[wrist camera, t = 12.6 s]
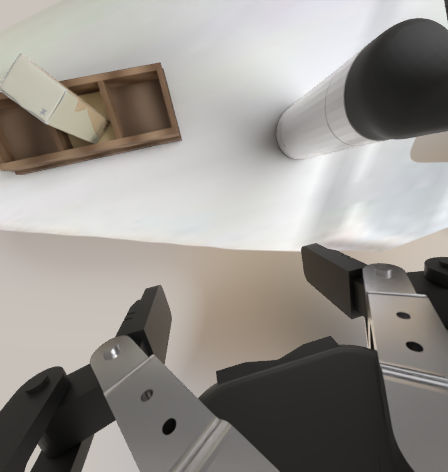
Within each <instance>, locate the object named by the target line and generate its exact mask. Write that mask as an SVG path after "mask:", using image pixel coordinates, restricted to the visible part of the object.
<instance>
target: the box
mask: <svg viewBox="0 0 448 472" xmlns="http://www.w3.org/2000/svg"><path fill="white" fill-rule="evenodd" d="M0 91H1V92H3V93H4V94H5V95H6V96H8V97H9V98H10V99H12V100H13V101H14V102H16V103H17V104H19V105H20V106H21V107H23V108H24V109H25V110H27V111H28V112H30V113H31V114H32V115H34V116H35V117H37V118H38V119H39V120H41V121H42V122H44V123H45V124H47V125H50V126H52V127H54V128H57V129H59V130H61V131H64V132H66V133H69V134H71V135H74V136H76V137H78V138H81V139H83V140H86V141H88V142H91V143H93V144H97V142H98V141H99V140H100V138H101V137H102V135H103V134H104V132H105V131H106V129H107V128H108V126H109V125H110V121H108V120H107V119H106V118H105V117H104V116H102V115H101V114H100V113H99V112H97V111H96V110H95V109H94V108H92V107H91V106H90V105H89V104H87V103H86V102H85V101H84V100H82V99H81V98H80V97H78V96H77V95H76V94H74V93H73V92H72V91H70V90H69V89H68V88H66V87H65V86H64V85H62V84H61V83H60V82H58V81H57V80H56V79H54V78H53V77H52V76H50V75H49V74H48V73H47V72H45V71H44V70H43V69H41V68H40V67H38V66H37V65H36V64H35V63H33V62H32V61H31V60H29V59H28V58H27V57H25V56H24V55H23V54H20V55H19V56H18V57H17V59H16V61H15V62H14V64H13V65H12V66H11V68H10V70H9V71H8V73H7V74H6V76H5V77H4V79H3V81H2V82H1V84H0Z"/></svg>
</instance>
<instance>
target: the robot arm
mask: <svg viewBox="0 0 448 472" xmlns="http://www.w3.org/2000/svg"><path fill="white" fill-rule="evenodd" d="M444 1H445V7H446V13H447V20H448V0H444ZM445 131H448V30H447V29H446V28H445V27H443V26H442V25H441V24H439V23H437V22H435V21H432V20H429V19H423V18H416V19H409V20H406V21H403V22H401V23H398V24H396V25H394V26H392V27H391V28H389V29H388V30H386V31H385V32H383V33H382V34H381V35H379V36H378V37H377V38H376V39H374V40H373V41H372V42H371V43H369V44H368V45H367V46H366V47H364V48H363V49H362V50H361V51H359V52H358V53H357V54H356V55H354V56H353V57H352V58H351V59H349V60H348V61H347V62H346V63H344V64H343V65H342V66H341V67H339V68H338V69H337V70H336V71H334V72H333V73H332V74H331V75H329V76H328V77H327V78H326V79H324V80H323V81H322V82H321V83H319V84H318V85H317V86H316V87H314V88H313V89H312V90H311V91H309V92H308V93H307V94H306V95H304V96H303V97H302V98H301V99H299V100H298V101H297V102H296V103H294V104H293V105H292V106H291V107H289V108H288V109H287V110H286V111H285V112H284V113H283V114H282V116H281V118H280V119H279V122H278V125H277V131H276V136H277V142H278V145H279V147H280V149H281V150H282V151H283V153H284V154H286V155H287V156H288V157H290V158H293V159H305V158H310V157H315V156H319V155H324V154H328V153H332V152H337V151H341V150H346V149H350V148H355V147H359V146H363V145H367V144H372V143H376V142H380V141H385V140H389V139H407V138H412V137H418V136H423V135H427V134H433V133H440V132H445ZM301 253H302V261H303V268H304V274H305V277H306V279H307V281H308V282H309V283H310V284H311V285H312V286H314V287H315V288H316V289H317V290H318V291H319V292H321V293H322V294H323V295H324V296H325V297H326V298H327V299H329V300H330V301H331V302H332V303H333V304H334V305H336V306H337V307H338V308H339V309H340V310H341V311H343V312H344V313H345V314H346V315H347V316H348V317H350V318H351V319H354V318H357V317H360V316H364V317H365V330H366V338H367V347H368V348H366V347H361V346H355V345H338V344H337V343H336V342H335V340H334V339H333V338H332V337H331V336H329V337H325V338H322V339H319V340H316V341H313V342H310V343H306V344H303V345H302V346H300V347H298V348H297V349H295V350H293V351H292V352H290V353H289V354H287V355H285V356H284V357H282V358H280V359H278V360H271V361H257V362H245V363H242V364H238V365H235V366H232V367H229V368H225V369H222V370H219V371H216V375H217V383H216V384H214V385H213V386H211V387H210V388H209V389H208V390H206V391H205V392H204V393H203V394H202V395H201V396H200V397H199V398H197V397H196V396H195V395H194V394H193V393H192V392H191V391H190V390H189V389H188V388H187V387H186V386H185V385H184V384H183V383H182V382H181V381H180V380H179V379H178V378H177V377H176V376H175V375H174V374H173V373H172V372H171V371H170V370H169V369H168V368H167V367H166V366H165V365H164V364H165V358H166V352H167V345H168V340H169V333H170V327H171V321H172V318H171V312H170V308H169V305H168V303H167V300H166V297H165V294H164V291H163V288H162V286H161V285H158V286H154V287H150V288H147V289H145V291H144V294H143V296H142V298H141V300H138V301H136V302H135V303H134V304H133V305H132V306H131V307H130V309H129V311H128V313H127V315H126V317H125V319H124V321H123V323H122V325H121V327H120V329H119V331H118V332H117V335H116V336H115V338H112V339H110V340H109V341H107V342H105V343H104V344H102V345H101V346H100V347H99V348H98V349H97V350H96V351H95V352H94V353H93V355H92V356H91V359H90V364H88V365H86V366H84V367H83V368H80V369H79V370H76V371H75V372H73V373H71V374H69V375H66V373H65V371H64V369H63V368H62V367H52V368H49V369H47V370H45V371H43V372H41V373H39V374H37V375H36V376H34V377H33V378H31V379H30V380H28V381H27V382H26V383H25V384H24V385H23V386H21V387H20V388H19V389H18V390H17V391H16V393H15V394H14V395H13V396H12V398H11V399H10V400H9V401H8V402H7V404H6V405H5V406H4V408H3V409H2V410H1V411H0V472H24V471H25V467H26V464H27V462H28V460H29V458H30V456H31V454H32V453H33V451H34V449H35V447H36V445H37V444H38V445H39V446H40V448H41V450H42V451H41V453H40V455H39V456H38V459H37V460H36V462H35V464H34V466H33V468H32V470H31V471H30V472H81V471H82V468H83V465H84V462H85V459H86V457H87V454H88V451H89V448H90V445H91V442H92V439H93V436H94V433H96V432H98V431H99V430H101V429H102V428H104V427H106V426H107V425H109V424H110V423H112V422H113V421H115V420H116V421H117V423H118V426H119V428H120V430H121V432H122V434H123V436H124V438H125V440H126V443H127V445H128V447H129V449H130V451H131V453H132V455H133V458H134V460H135V462H136V464H137V466H138V468H139V470H140V472H448V257H437V258H430V259H428V260H426V261H425V265H424V266H425V267H424V271H419V272H408V273H406V272H405V270H403V269H402V268H400V267H398V266H395V265H390V264H380V263H378V264H370V265H367V264H365V263H362V262H360V261H358V260H356V259H354V258H351V257H350V256H347V255H344V254H343V253H341V252H339V251H336V250H331V249H327V248H325V247H323V246H321V245H319V244H317V243H314V244H311V245H307V246H303V247H302V249H301Z"/></svg>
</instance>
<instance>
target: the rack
mask: <svg viewBox="0 0 448 472" xmlns="http://www.w3.org/2000/svg"><path fill="white" fill-rule="evenodd" d="M58 82H60V83H61V84H62V85H64V86H65V87H66V88H68V89H69V90H70V91H72V92H73V93H74V94H76V95H77V96H78V97H80V98H81V99H82V100H84V101H85V102H86V103H87V104H89V105H90V106H91V107H92V108H94V109H95V110H96V111H97V112H99V113H100V114H101V115H102V116H104V117H105V118H106V119H107V120H108V121H110V125H109V126H108V128H107V129H106V131H105V132H104V134H103V135H102V137H101V138H100V140H99V141H98V142H97V144H93V143H91V142H88V141H86V140H83V139H81V138H78V137H76V136H74V135H71V134H69V133H66V132H64V131H61V130H59V129H57V128H54V127H52V126H50V125H47V124H45V123H44V122H42V121H41V120H39V119H38V118H37V117H35V116H34V115H32V114H31V113H30V112H28V111H27V110H25V109H24V108H23V107H21V106H20V105H19V104H17V103H16V102H14V101H13V100H12V99H10V98H9V97H8V96H6V95H5V94H4V93H3V92H0V169H1V170H3V171H15V173H16V175H23V174H28V173H32V172H37V171H41V170H46V169H50V168H55V167H60V166H64V165H69V164H73V163H78V162H83V161H87V160H92V159H96V158H101V157H106V156H110V155H115V154H119V153H124V152H128V151H133V150H138V149H142V148H147V147H151V146H156V145H161V144H165V143H170V142H174V141H179V140H182V139H181V135H180V131H179V127H178V124H177V120H176V116H175V112H174V108H173V104H172V101H171V97H170V93H169V89H168V85H167V81H166V78H165V74H164V70H163V68H162V66H161V63H155V64H150V65H144V66H139V67H134V68H128V69H123V70H117V71H112V72H107V73H101V74H96V75H91V76H85V77H80V78H75V79H69V80H64V81H58Z"/></svg>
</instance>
